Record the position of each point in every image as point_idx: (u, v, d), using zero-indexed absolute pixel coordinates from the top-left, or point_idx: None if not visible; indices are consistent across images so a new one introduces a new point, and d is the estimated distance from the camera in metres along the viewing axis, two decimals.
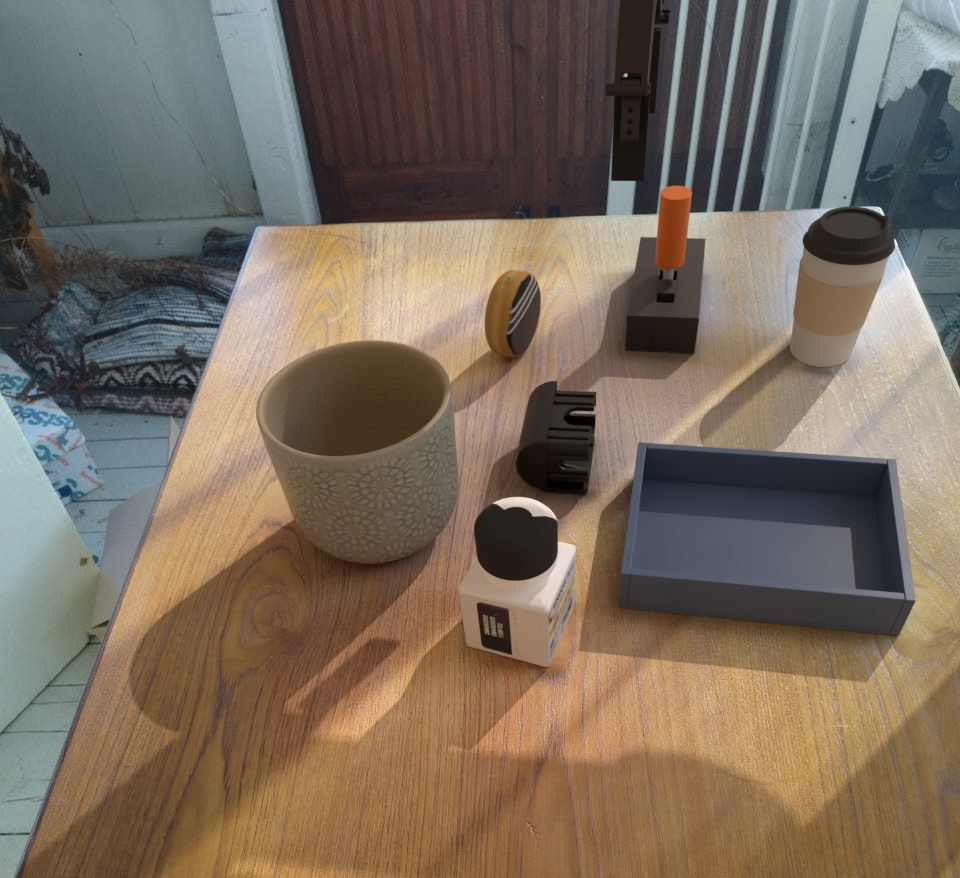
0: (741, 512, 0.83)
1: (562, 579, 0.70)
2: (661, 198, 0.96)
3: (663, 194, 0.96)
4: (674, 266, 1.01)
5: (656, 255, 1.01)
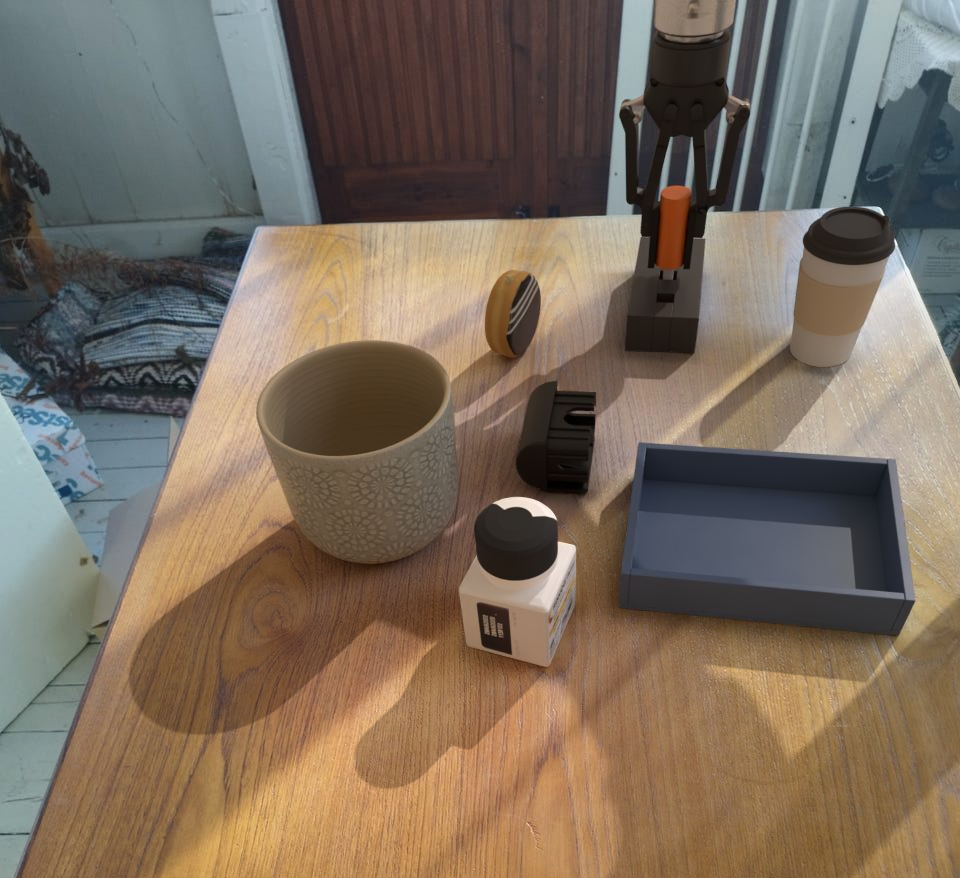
0: (741, 512, 0.83)
1: (562, 579, 0.70)
2: (661, 198, 0.96)
3: (663, 194, 0.96)
4: (674, 266, 1.01)
5: (656, 255, 1.01)
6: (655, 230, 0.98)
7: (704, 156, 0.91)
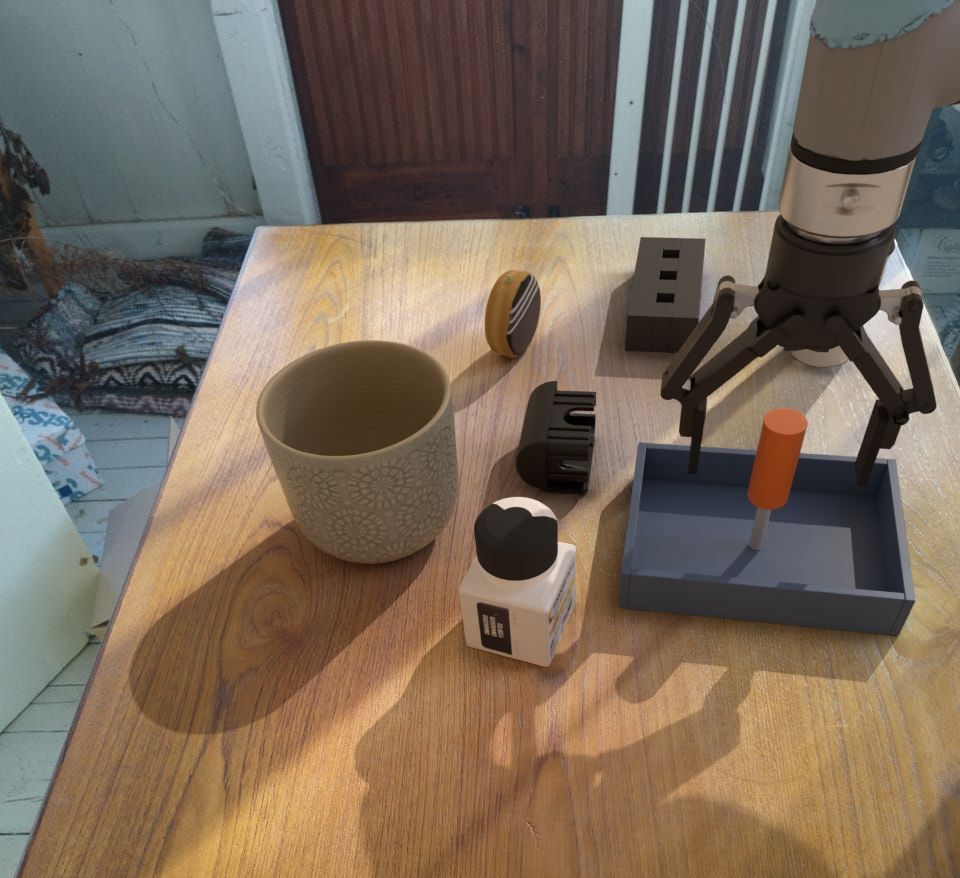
0: (741, 512, 0.83)
1: (562, 579, 0.70)
2: (765, 428, 0.70)
3: (768, 424, 0.69)
4: (775, 506, 0.74)
5: (751, 490, 0.75)
6: (700, 431, 0.70)
7: (873, 362, 0.63)
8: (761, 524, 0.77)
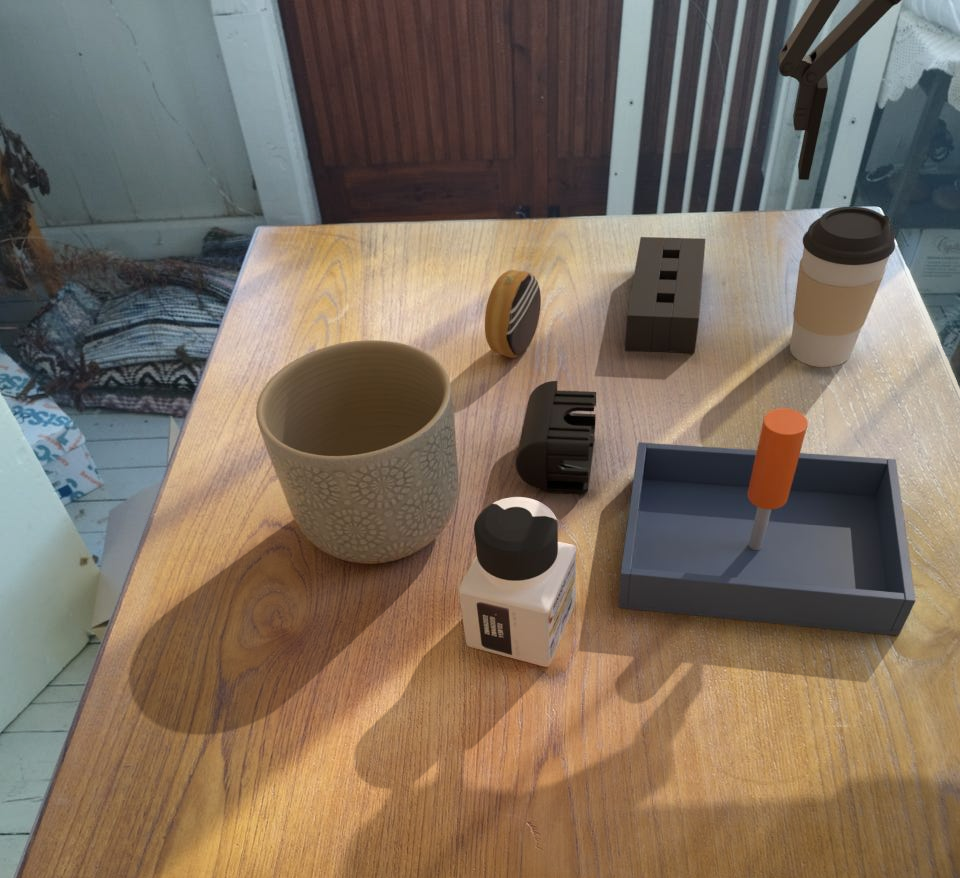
0: (741, 512, 0.83)
1: (562, 579, 0.70)
2: (765, 428, 0.70)
3: (768, 424, 0.69)
4: (775, 506, 0.74)
5: (751, 490, 0.75)
6: (818, 118, 0.65)
7: None
8: (761, 524, 0.77)
